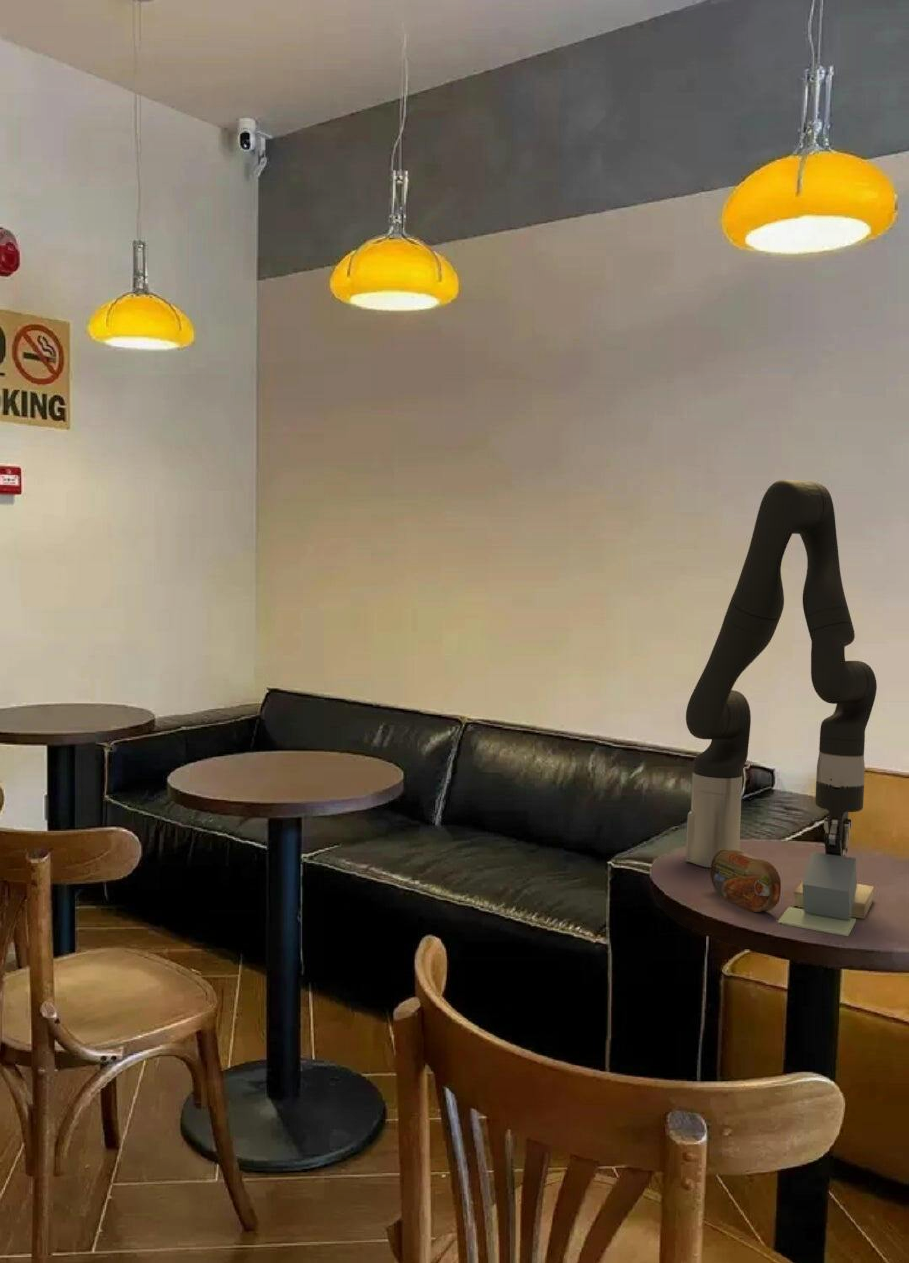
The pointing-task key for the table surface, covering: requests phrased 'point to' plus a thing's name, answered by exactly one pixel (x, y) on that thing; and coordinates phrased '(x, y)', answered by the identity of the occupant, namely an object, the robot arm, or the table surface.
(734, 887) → the tin
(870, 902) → the block
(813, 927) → the mat
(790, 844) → the table surface
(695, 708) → the robot arm
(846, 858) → the box
